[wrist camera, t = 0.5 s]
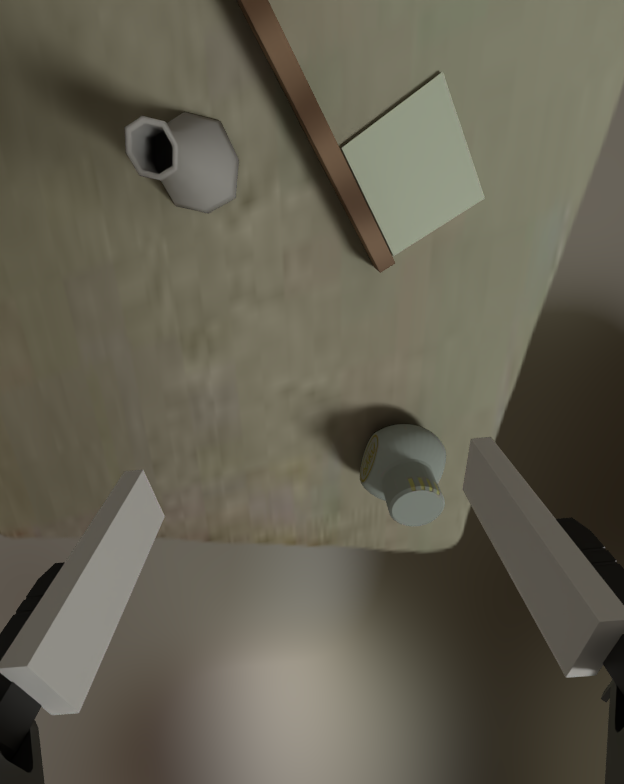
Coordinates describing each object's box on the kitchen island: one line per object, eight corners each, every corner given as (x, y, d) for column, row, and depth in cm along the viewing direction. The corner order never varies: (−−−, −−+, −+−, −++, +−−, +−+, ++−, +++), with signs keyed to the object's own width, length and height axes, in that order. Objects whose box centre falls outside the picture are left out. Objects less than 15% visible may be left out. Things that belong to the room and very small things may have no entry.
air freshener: (378, 407, 41) (398, 462, 32) (441, 420, 42) (477, 476, 33) (353, 474, 46) (363, 537, 37) (409, 484, 47) (433, 547, 38)
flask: (141, 118, 28) (65, 78, 19) (229, 106, 27) (193, 58, 18) (170, 218, 31) (116, 223, 22) (248, 208, 31) (224, 209, 22)
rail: (183, -102, 22) (167, -144, 19) (201, -122, 22) (187, -167, 19) (374, 267, 33) (380, 272, 31) (388, 258, 33) (395, 263, 30)
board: (341, 148, 29) (341, 148, 28) (441, 72, 26) (442, 71, 26) (392, 255, 33) (393, 256, 32) (483, 198, 31) (484, 198, 30)
